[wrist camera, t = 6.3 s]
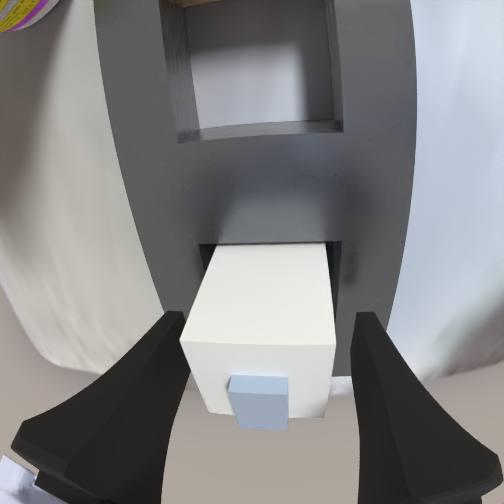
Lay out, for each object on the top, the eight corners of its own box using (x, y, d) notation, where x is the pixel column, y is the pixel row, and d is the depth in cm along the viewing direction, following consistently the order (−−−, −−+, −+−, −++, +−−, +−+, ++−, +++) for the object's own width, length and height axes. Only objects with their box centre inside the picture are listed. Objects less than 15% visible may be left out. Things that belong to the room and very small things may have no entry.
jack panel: (374, -62, 6) (391, -86, 4) (367, 339, 17) (373, 374, 15) (123, -32, 8) (91, -45, 6) (198, 338, 18) (187, 371, 16)
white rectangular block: (320, 215, 13) (337, 363, 7) (319, 289, 15) (324, 432, 9) (228, 218, 14) (173, 357, 7) (239, 289, 16) (205, 426, 10)
